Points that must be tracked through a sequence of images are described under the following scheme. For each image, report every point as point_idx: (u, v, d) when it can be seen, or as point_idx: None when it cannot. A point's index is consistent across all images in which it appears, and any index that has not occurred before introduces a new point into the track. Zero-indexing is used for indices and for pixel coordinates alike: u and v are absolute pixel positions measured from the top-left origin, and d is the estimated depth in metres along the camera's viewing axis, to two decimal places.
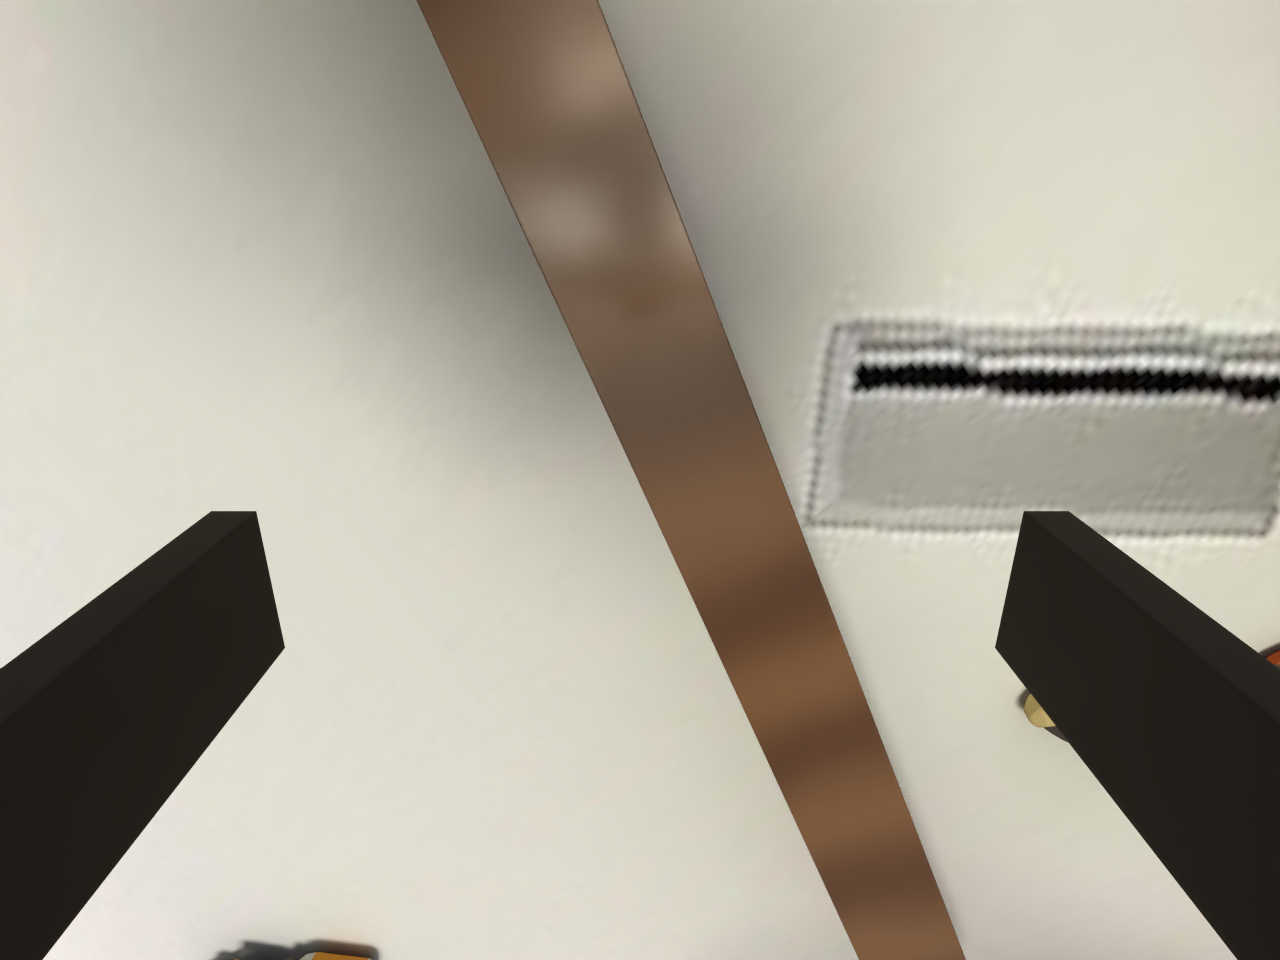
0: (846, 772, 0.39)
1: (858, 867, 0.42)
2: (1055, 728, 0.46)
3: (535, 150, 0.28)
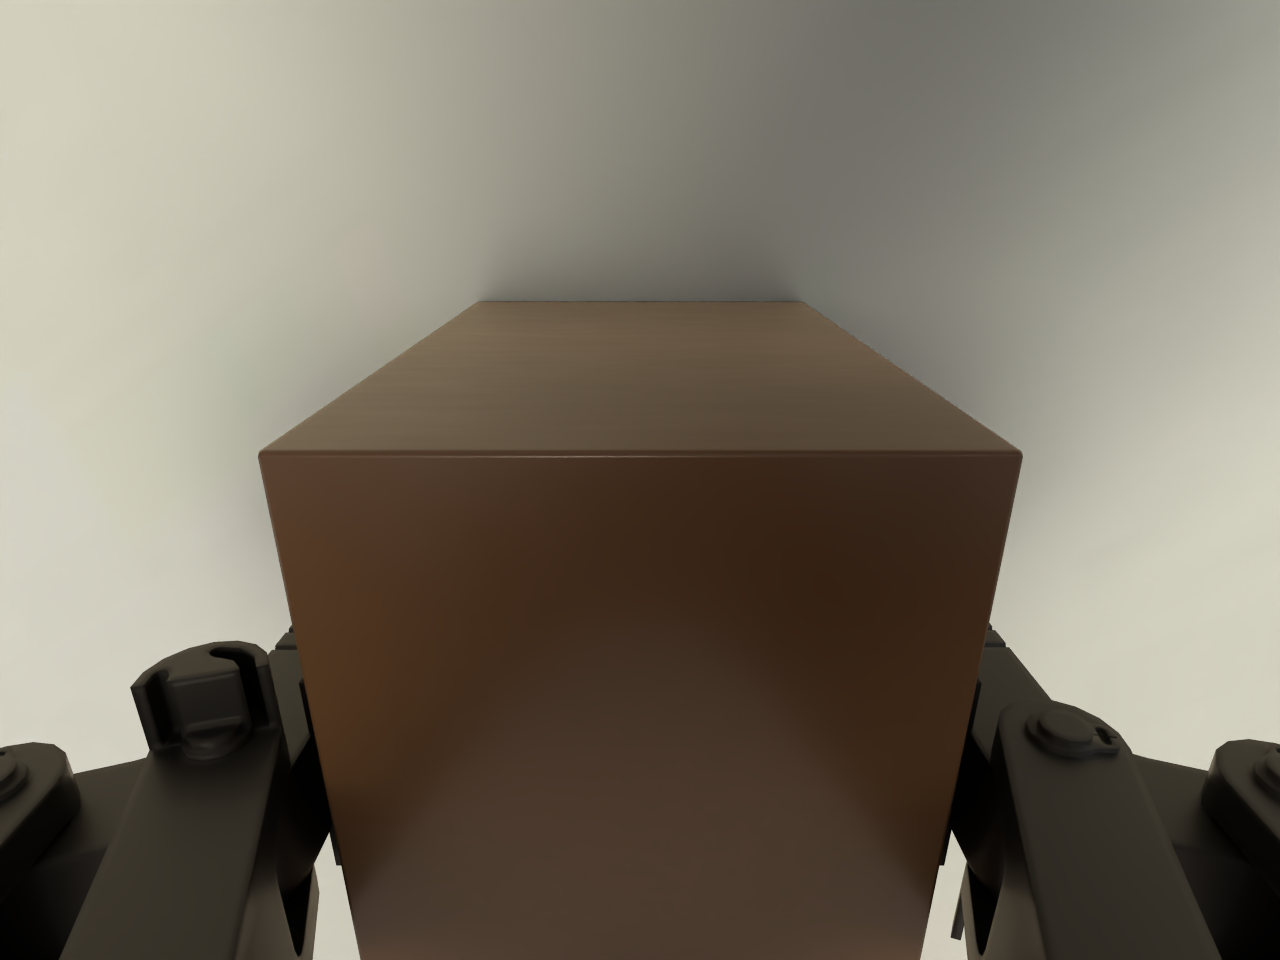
0: None
1: None
2: None
3: None
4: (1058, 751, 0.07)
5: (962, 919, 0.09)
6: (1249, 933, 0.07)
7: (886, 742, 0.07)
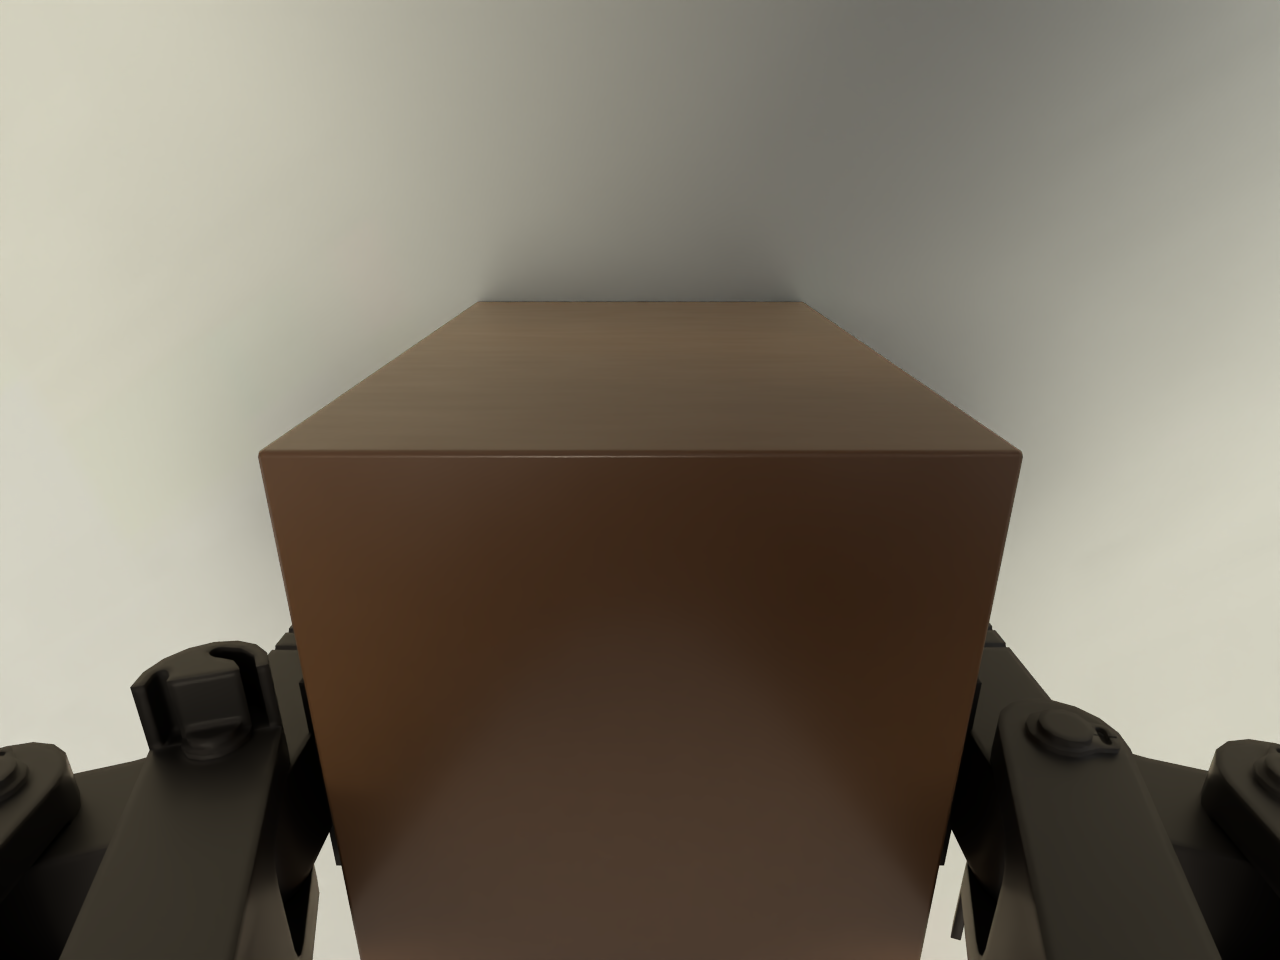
0: None
1: None
2: None
3: None
4: (1058, 750, 0.07)
5: (962, 919, 0.09)
6: (1249, 933, 0.07)
7: (887, 742, 0.07)
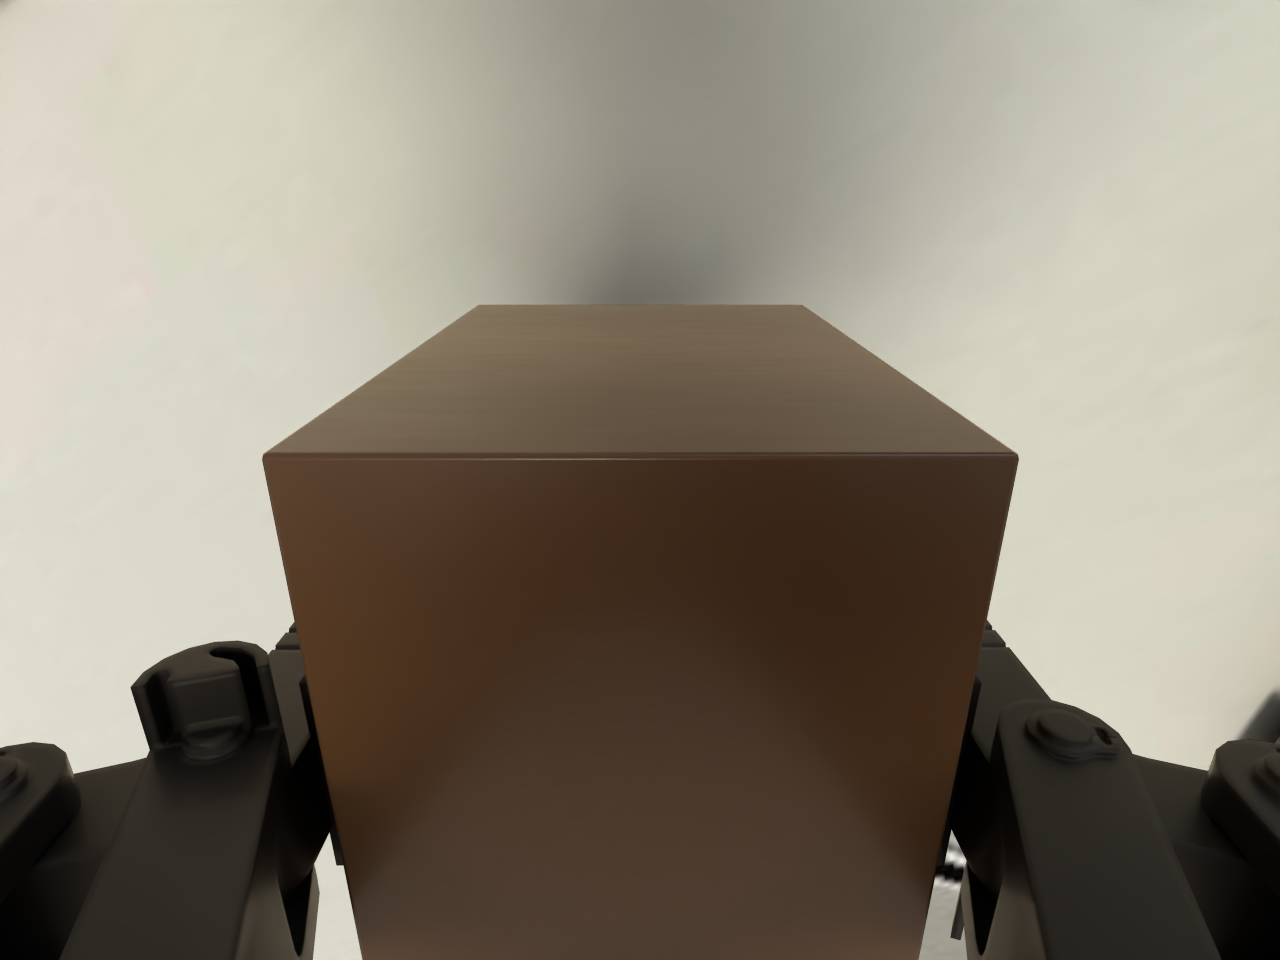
0: None
1: None
2: None
3: None
4: (1058, 750, 0.07)
5: (962, 919, 0.09)
6: (1249, 933, 0.07)
7: (884, 743, 0.07)
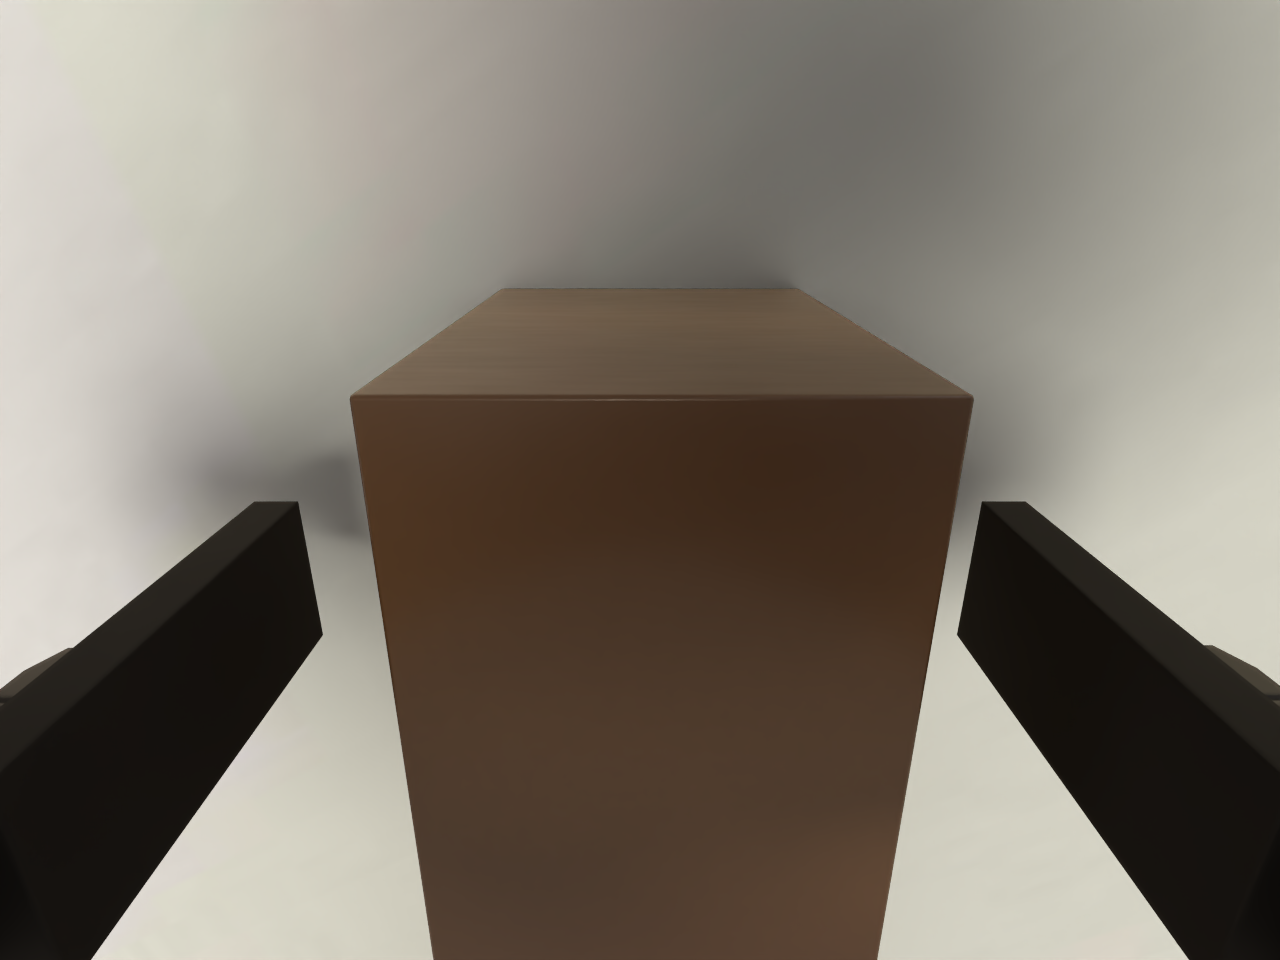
0: None
1: None
2: None
3: None
4: None
5: None
6: None
7: (866, 647, 0.08)
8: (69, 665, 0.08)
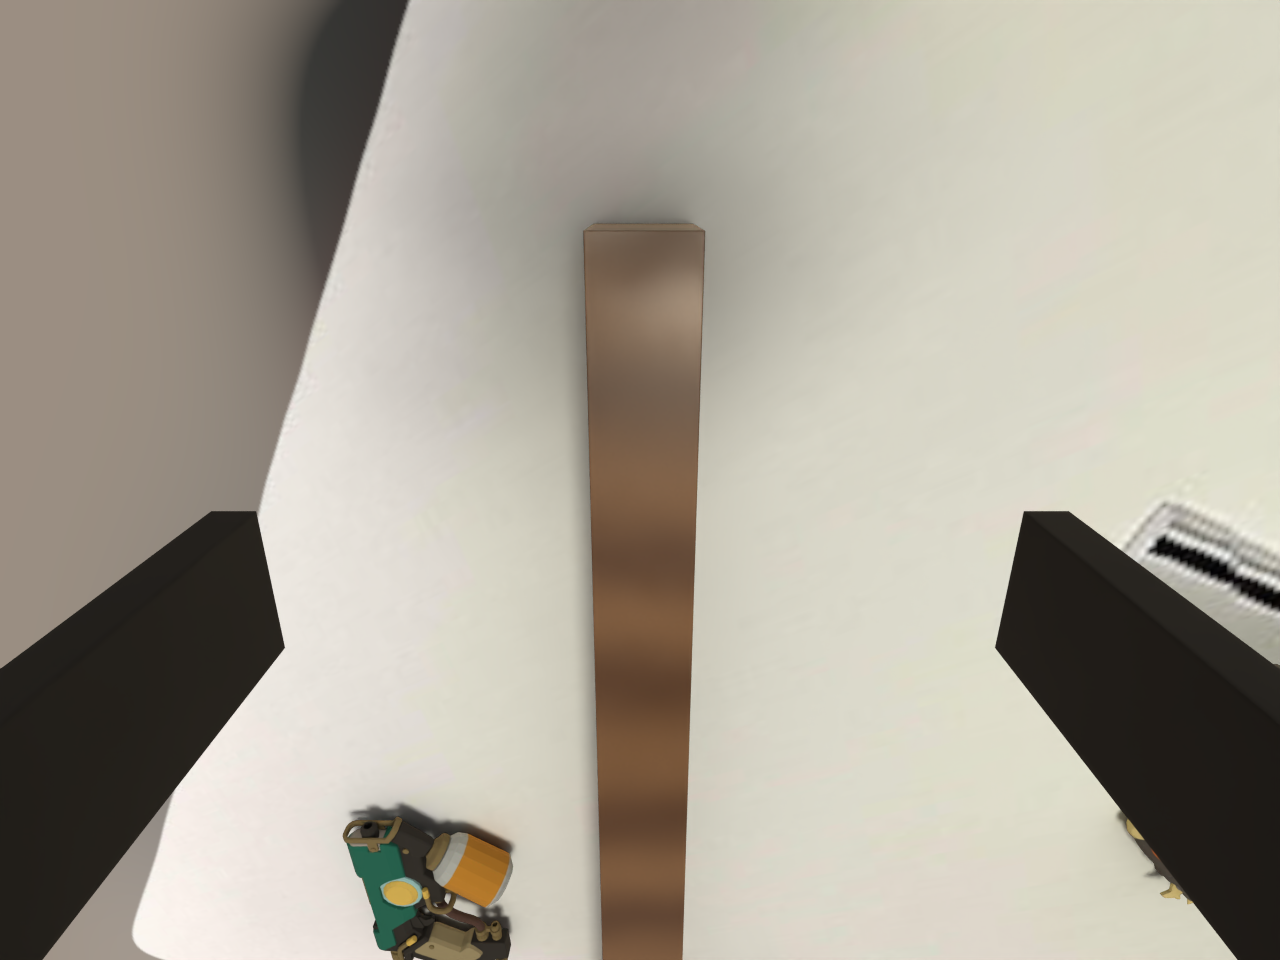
0: (651, 938, 0.54)
1: None
2: None
3: (621, 519, 0.41)
4: None
5: None
6: None
7: (688, 289, 0.37)
8: None
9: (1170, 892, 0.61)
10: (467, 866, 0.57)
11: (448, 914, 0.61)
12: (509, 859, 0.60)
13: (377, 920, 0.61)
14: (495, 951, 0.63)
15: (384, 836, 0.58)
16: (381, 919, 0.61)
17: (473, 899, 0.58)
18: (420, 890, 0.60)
